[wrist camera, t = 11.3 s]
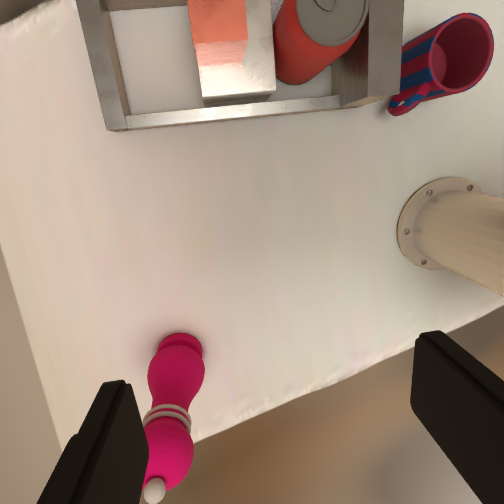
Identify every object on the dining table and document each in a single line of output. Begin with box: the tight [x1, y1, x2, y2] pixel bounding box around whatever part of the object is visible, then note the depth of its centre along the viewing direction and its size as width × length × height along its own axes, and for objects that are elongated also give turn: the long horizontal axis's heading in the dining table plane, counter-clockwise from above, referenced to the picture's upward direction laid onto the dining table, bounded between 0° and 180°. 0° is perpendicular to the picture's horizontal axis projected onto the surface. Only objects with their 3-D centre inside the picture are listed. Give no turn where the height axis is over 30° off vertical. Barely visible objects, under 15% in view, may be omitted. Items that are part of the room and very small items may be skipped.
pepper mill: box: [142, 333, 205, 504], centre depth 35 cm, size 7×7×20 cm
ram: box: [187, 0, 276, 106], centre depth 27 cm, size 7×9×12 cm
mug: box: [388, 13, 494, 116], centre depth 33 cm, size 7×10×7 cm
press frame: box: [76, 0, 404, 132], centre depth 29 cm, size 28×12×9 cm, turn 96°
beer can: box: [272, 0, 369, 85], centre depth 28 cm, size 7×7×12 cm
